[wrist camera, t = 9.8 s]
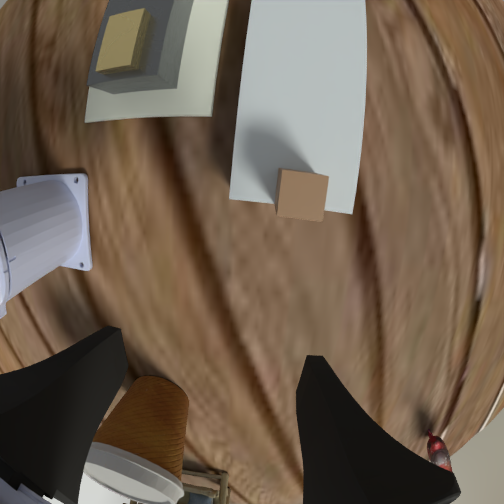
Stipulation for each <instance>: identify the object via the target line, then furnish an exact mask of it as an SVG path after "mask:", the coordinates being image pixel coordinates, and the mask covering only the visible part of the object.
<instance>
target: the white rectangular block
mask: <svg viewBox="0 0 504 504" xmlns="http://www.w3.org/2000/svg"><path fill="white" fill-rule="evenodd" d="M366 72H367V31H366V8H365V0H252V2H251V9H250V16H249V23H248V30H247V37H246V45H245V53H244V60H243V68H242V77H241V85H240V94H239V103H238V112H237V121H236V131H235V141H234V151H233V161H232V172H231V183H230V195H229V199H234V200H244V201H254V202H264V203H273V204H275V209H276V215H277V216H278V217H287V218H295V219H303V220H311V221H319V222H323V216H324V210H327V211H334V212H341V213H348V214H352V212H353V206H354V200H355V193H356V186H357V179H358V172H359V164H360V156H361V147H362V137H363V126H364V113H365V97H366Z"/></svg>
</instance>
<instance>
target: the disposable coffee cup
mask: <svg viewBox="0 0 504 504" xmlns="http://www.w3.org/2000/svg"><path fill="white" fill-rule="evenodd" d="M188 407H189V400H188V397H187V396H186V394H185V393H184V392H183V390H181V389H180V388H179V387H178V386H176V385H175V384H173V383H172V382H170V381H168V380H165V379H163V378H160V377H156V376H142V377H139V378H137V379H136V380H135V381H134V383H133V384H132V385H131V387H130V388H129V390H128V391H127V392H126V393H125V395H124V396H123V397H122V399H121V400H120V401H119V403H118V404H117V405H116V407H115V408H114V409H113V411H112V412H111V413H110V415H109V416H108V417H107V419H106V420H105V421H104V423H103V424H102V425H101V427H100V428H99V429H98V431H97V432H96V433H95V436H94V438H93V441H92V444H91V447H90V450H89V453H88V456H87V459H86V463H85V466H84V470H83V472H84V473H85V474H86V475H87V476H89V477H90V478H91V479H93V480H94V481H95V482H97V483H99V484H100V485H102V486H103V487H105V488H107V489H109V490H110V491H112V492H115V493H117V494H119V495H121V496H124V497H126V498H128V499H131V500H134V501H137V502H140V503H143V504H176V503H177V501H178V500H179V498H181V497H183V496H184V490H183V488H182V487H183V485H182V483H181V472H182V462H183V453H184V443H185V434H186V425H187V415H188Z"/></svg>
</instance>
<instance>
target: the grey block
mask: <svg viewBox="0 0 504 504" xmlns="http://www.w3.org/2000/svg"><path fill="white" fill-rule="evenodd" d="M193 2H194V0H109V3H108V5H107V8H106V11H105V14H104V17H103V20H102V23H101V27H100V30H99V33H98V37H97V41H96V44H95V48H94V52H93V57H92V61H91V65H90V70H89V75H88V80H87V86H89V87H93V88H96V89H99V90H102V91H105V92H108V93H111V94H120V93H128V92H137V91H148V90H162V89H177V84H178V77H179V71H180V65H181V59H182V53H183V48H184V42H185V37H186V32H187V28H188V23H189V18H190V14H191V10H192V6H193Z"/></svg>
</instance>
